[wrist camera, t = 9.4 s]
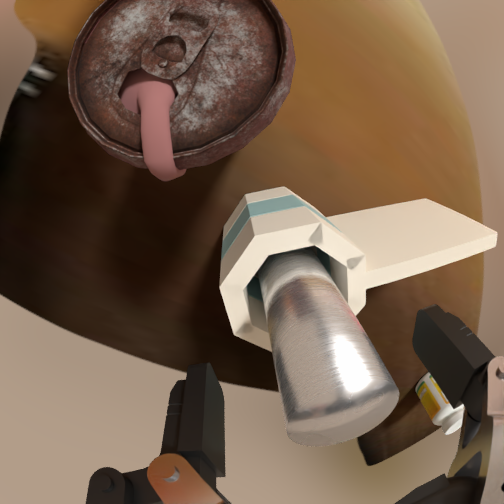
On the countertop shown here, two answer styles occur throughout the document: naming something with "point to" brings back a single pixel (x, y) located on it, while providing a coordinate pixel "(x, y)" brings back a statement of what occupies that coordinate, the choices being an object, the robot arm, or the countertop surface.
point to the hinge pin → (321, 354)
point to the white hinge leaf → (343, 250)
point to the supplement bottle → (439, 405)
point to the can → (179, 79)
